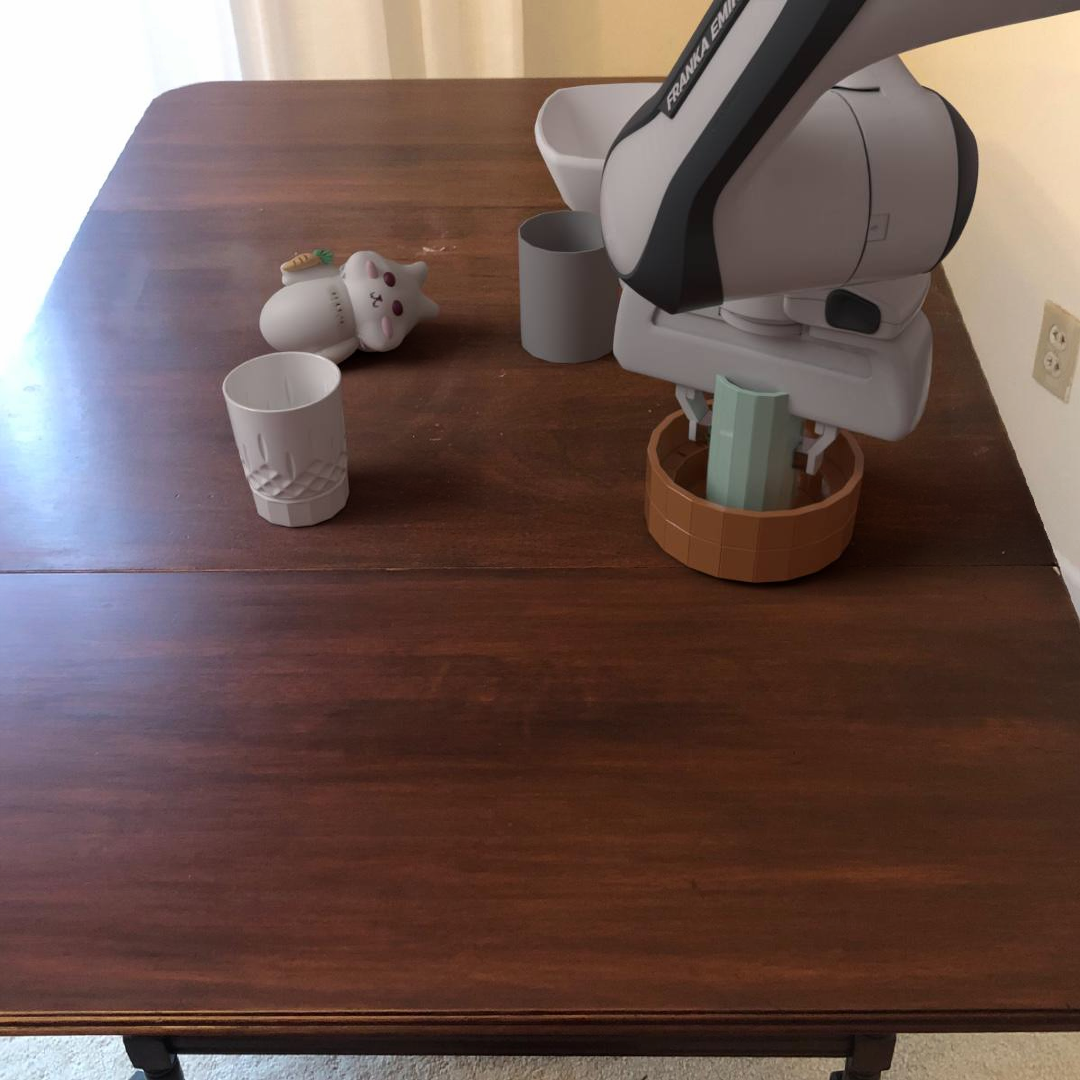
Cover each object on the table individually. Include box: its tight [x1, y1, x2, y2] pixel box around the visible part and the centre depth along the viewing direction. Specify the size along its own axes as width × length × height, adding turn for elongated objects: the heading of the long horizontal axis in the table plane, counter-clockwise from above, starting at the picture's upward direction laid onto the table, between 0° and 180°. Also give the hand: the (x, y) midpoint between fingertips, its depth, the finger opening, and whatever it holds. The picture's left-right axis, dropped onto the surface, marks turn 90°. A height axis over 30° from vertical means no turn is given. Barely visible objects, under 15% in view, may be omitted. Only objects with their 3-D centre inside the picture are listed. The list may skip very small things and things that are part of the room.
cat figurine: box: [259, 248, 440, 366], centre depth 103 cm, size 10×8×15 cm
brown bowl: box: [643, 398, 865, 584], centre depth 83 cm, size 14×14×6 cm
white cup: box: [222, 351, 350, 528], centre depth 85 cm, size 8×8×10 cm
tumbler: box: [705, 375, 806, 512], centre depth 81 cm, size 6×6×10 cm
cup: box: [517, 209, 620, 365], centre depth 103 cm, size 8×8×10 cm
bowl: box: [534, 82, 664, 215], centre depth 119 cm, size 22×22×12 cm
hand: (754, 453), depth 82 cm, fingers closed on tumbler, 6 cm apart
